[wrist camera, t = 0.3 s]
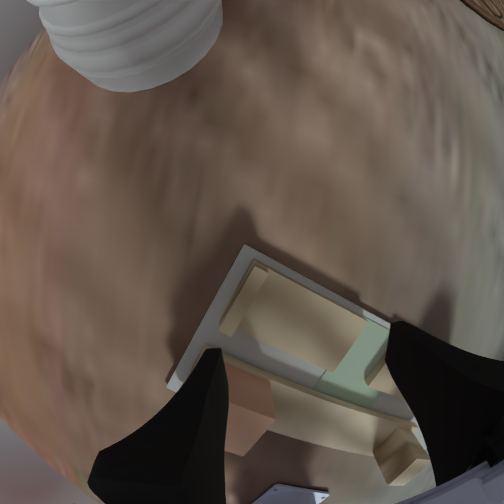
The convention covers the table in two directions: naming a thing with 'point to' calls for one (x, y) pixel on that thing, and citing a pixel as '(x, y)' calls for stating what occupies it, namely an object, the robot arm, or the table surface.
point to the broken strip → (298, 322)
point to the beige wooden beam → (340, 425)
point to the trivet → (488, 10)
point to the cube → (247, 410)
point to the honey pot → (131, 38)
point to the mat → (290, 367)
